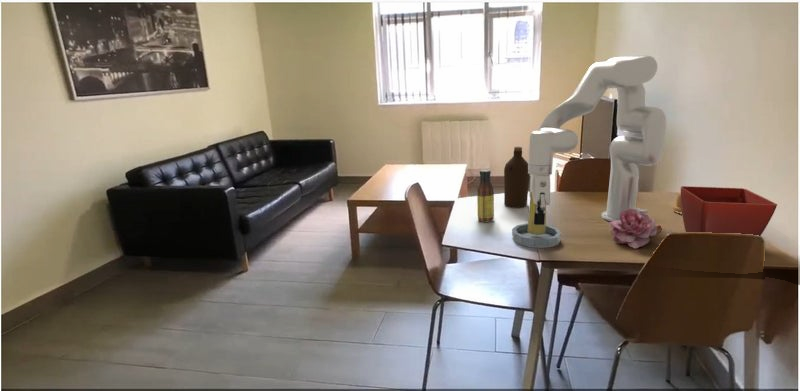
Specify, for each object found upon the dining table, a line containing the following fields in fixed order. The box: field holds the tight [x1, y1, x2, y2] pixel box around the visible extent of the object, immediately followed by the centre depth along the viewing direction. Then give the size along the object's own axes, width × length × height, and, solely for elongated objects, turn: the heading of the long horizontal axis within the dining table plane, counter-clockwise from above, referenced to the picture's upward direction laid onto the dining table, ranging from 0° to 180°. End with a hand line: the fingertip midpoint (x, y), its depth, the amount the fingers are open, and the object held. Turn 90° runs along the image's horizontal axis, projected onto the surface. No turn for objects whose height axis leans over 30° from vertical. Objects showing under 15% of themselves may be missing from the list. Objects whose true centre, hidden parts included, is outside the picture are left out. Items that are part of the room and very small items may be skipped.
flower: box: [608, 209, 663, 249], centre depth 144 cm, size 15×15×10 cm
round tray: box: [511, 222, 562, 249], centre depth 149 cm, size 15×15×3 cm
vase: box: [527, 192, 547, 235], centre depth 146 cm, size 6×6×14 cm
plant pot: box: [680, 185, 778, 237], centre depth 138 cm, size 19×19×17 cm
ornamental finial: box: [672, 193, 682, 212], centre depth 170 cm, size 8×8×8 cm
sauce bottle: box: [476, 168, 495, 223], centre depth 167 cm, size 7×6×20 cm
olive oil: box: [503, 146, 531, 209], centre depth 184 cm, size 11×11×25 cm
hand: (536, 220), depth 147 cm, fingers closed on vase, 5 cm apart
